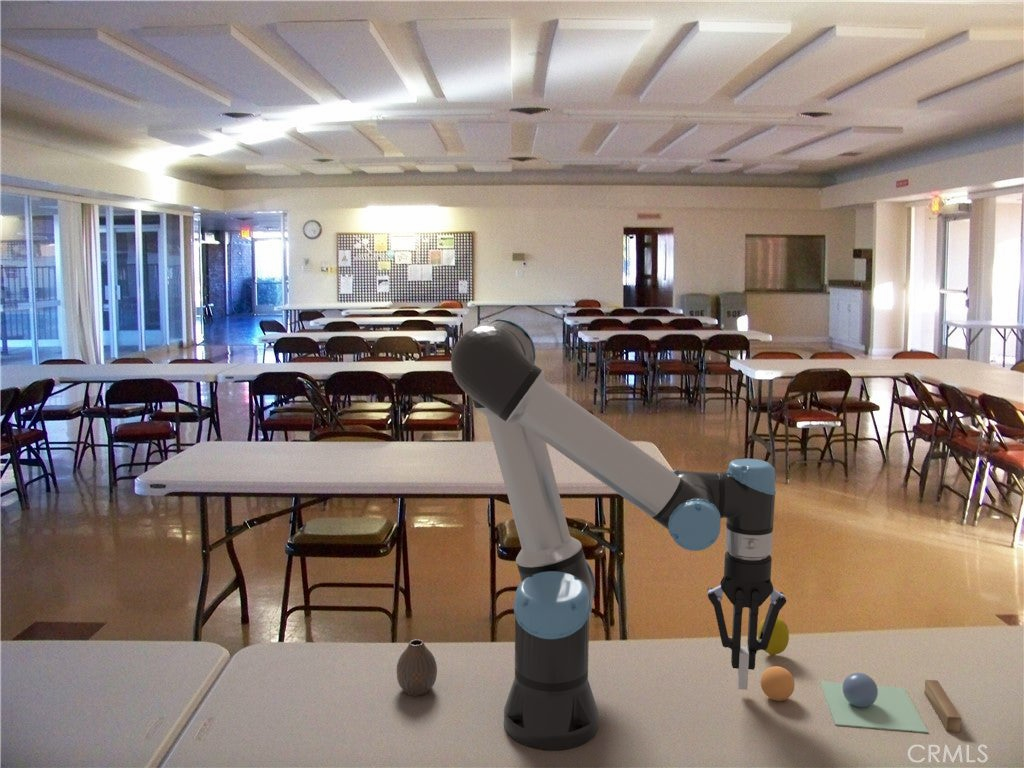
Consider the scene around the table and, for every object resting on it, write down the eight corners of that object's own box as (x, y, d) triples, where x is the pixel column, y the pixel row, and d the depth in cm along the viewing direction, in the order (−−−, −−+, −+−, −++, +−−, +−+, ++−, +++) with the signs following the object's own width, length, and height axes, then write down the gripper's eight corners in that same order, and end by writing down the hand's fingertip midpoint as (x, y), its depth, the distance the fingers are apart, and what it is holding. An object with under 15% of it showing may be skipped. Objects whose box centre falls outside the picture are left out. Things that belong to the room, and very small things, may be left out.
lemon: (789, 664, 162) (791, 622, 161) (757, 661, 164) (759, 620, 162) (786, 650, 168) (788, 610, 166) (755, 647, 169) (757, 608, 168)
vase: (411, 704, 148) (410, 655, 147) (389, 688, 154) (388, 641, 152) (445, 691, 153) (444, 643, 151) (422, 676, 158) (421, 629, 156)
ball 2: (878, 680, 144) (884, 711, 145) (870, 664, 150) (876, 694, 150) (843, 685, 145) (849, 716, 146) (836, 669, 151) (842, 699, 151)
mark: (835, 725, 142) (835, 724, 142) (819, 682, 156) (819, 681, 156) (928, 732, 140) (928, 731, 140) (904, 688, 154) (904, 687, 154)
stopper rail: (946, 731, 140) (947, 716, 140) (924, 693, 152) (925, 679, 152) (959, 732, 140) (961, 717, 140) (936, 694, 152) (937, 680, 151)
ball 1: (794, 674, 146) (799, 705, 147) (789, 659, 152) (793, 689, 152) (760, 677, 147) (765, 708, 148) (756, 662, 153) (761, 692, 153)
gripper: (709, 558, 144) (703, 693, 148) (792, 563, 142) (784, 700, 146) (706, 543, 152) (701, 671, 156) (785, 547, 150) (778, 677, 154)
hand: (742, 685), depth 151 cm, fingers closed
